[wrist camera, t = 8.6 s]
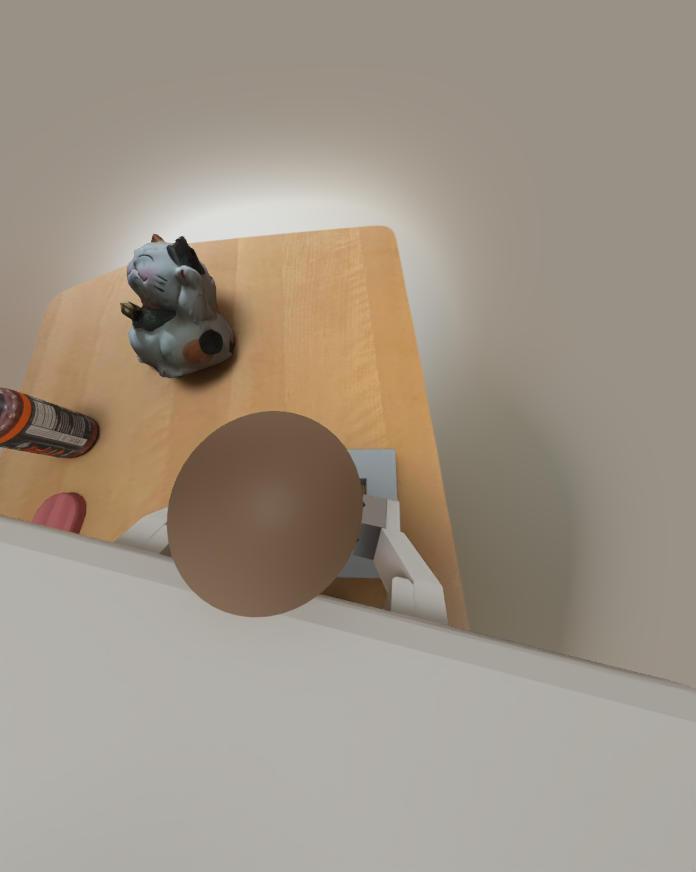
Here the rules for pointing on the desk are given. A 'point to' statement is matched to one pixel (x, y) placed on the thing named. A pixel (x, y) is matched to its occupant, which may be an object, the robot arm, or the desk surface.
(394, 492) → the socket block
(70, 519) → the popsicle
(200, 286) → the lucky cat figurine
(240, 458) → the long pin
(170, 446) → the desk surface
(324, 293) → the desk surface
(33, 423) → the supplement bottle
